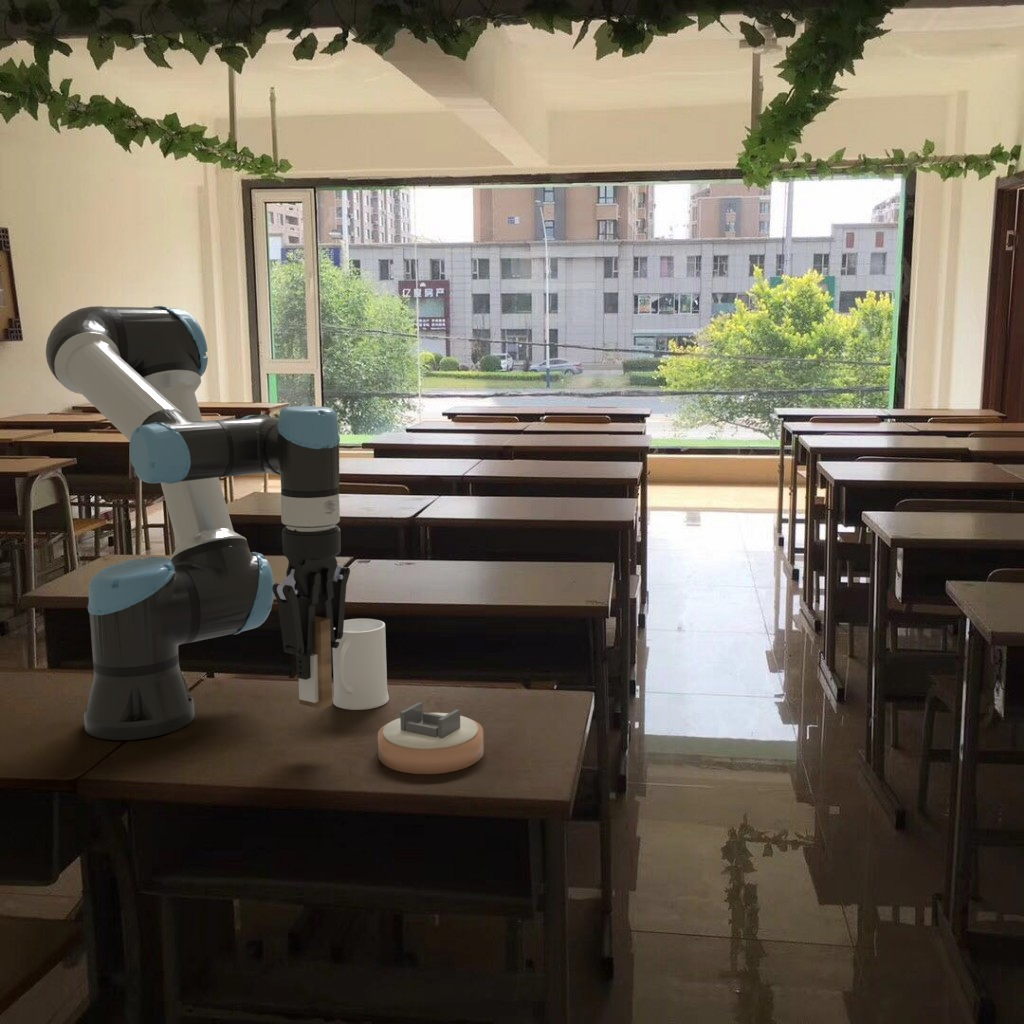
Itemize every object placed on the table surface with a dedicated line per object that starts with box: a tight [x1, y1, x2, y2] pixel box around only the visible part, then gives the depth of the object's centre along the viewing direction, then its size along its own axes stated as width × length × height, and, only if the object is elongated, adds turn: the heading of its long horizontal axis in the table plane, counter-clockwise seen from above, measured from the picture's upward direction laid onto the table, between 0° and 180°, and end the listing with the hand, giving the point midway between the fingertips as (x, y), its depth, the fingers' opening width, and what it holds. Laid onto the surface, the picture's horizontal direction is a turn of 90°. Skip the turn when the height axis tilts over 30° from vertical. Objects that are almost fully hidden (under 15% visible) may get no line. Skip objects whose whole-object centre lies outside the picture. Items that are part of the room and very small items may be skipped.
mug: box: [332, 618, 390, 711], centre depth 162 cm, size 12×8×12 cm
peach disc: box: [377, 702, 484, 775], centre depth 143 cm, size 14×14×6 cm
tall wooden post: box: [298, 616, 333, 710], centre depth 144 cm, size 4×2×12 cm, turn 61°
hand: (315, 696), depth 145 cm, fingers closed on tall wooden post, 2 cm apart
